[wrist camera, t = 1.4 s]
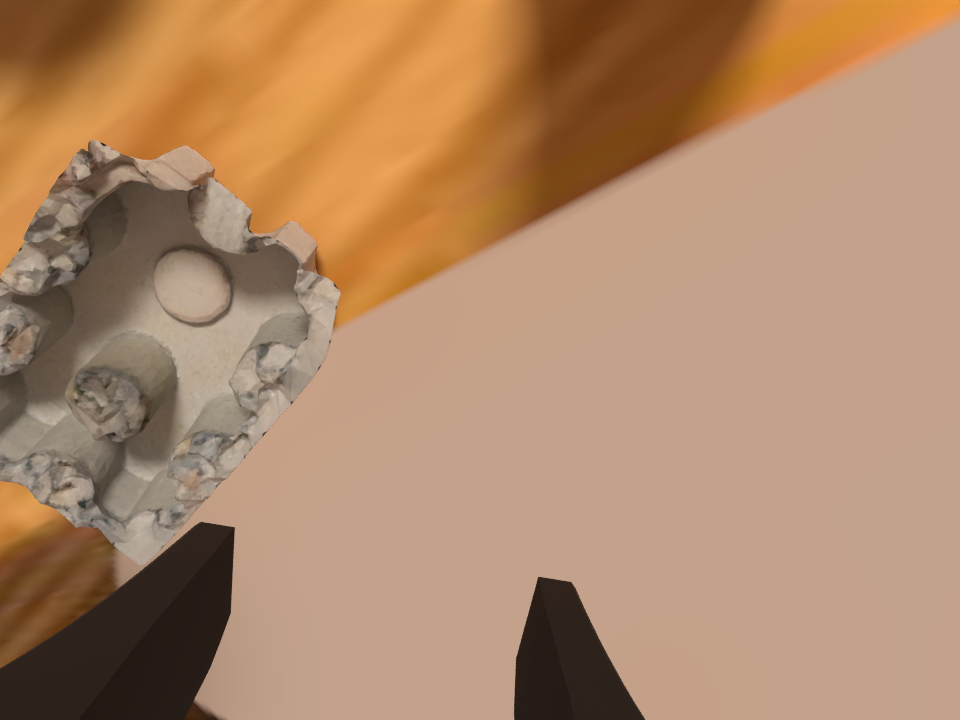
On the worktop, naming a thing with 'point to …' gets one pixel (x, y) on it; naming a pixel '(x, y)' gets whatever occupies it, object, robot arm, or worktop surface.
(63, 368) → the egg carton
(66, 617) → the worktop surface
